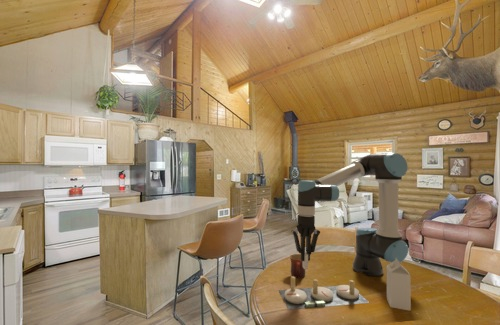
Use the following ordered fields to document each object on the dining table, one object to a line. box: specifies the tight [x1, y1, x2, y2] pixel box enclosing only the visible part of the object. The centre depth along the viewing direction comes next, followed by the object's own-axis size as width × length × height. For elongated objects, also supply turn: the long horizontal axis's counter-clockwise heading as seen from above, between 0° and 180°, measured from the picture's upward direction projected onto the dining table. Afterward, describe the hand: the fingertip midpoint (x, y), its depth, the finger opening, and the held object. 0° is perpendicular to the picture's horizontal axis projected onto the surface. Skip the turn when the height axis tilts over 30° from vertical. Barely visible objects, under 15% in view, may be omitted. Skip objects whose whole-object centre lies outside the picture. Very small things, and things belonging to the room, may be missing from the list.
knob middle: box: [311, 278, 333, 302], centre depth 104 cm, size 9×9×7 cm
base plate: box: [278, 284, 370, 311], centre depth 104 cm, size 35×15×2 cm, turn 99°
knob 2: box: [336, 279, 360, 299], centre depth 106 cm, size 9×9×7 cm
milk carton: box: [386, 258, 412, 312], centre depth 99 cm, size 7×7×19 cm
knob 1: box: [285, 275, 307, 304], centre depth 102 cm, size 9×9×7 cm
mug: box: [289, 253, 306, 279], centre depth 124 cm, size 12×9×10 cm
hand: (305, 268), depth 107 cm, fingers closed
